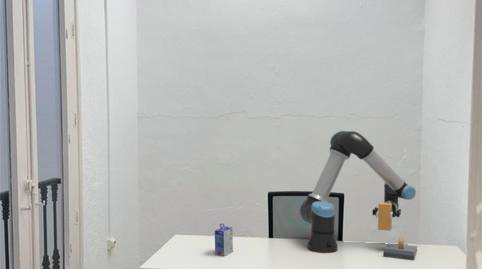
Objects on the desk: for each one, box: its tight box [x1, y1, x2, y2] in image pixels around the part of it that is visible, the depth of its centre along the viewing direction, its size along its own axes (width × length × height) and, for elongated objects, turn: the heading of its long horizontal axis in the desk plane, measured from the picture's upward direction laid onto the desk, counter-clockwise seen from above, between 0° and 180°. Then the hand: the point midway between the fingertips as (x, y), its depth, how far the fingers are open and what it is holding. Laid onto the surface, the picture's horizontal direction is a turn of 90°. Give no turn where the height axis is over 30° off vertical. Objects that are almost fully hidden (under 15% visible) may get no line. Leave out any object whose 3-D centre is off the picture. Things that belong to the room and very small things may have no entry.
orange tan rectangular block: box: [377, 201, 393, 232], centre depth 235 cm, size 6×6×13 cm
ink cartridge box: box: [214, 222, 234, 257], centre depth 225 cm, size 10×6×14 cm, turn 155°
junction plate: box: [382, 237, 418, 261], centre depth 230 cm, size 14×20×7 cm
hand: (383, 216), depth 231 cm, fingers closed on orange tan rectangular block, 6 cm apart
